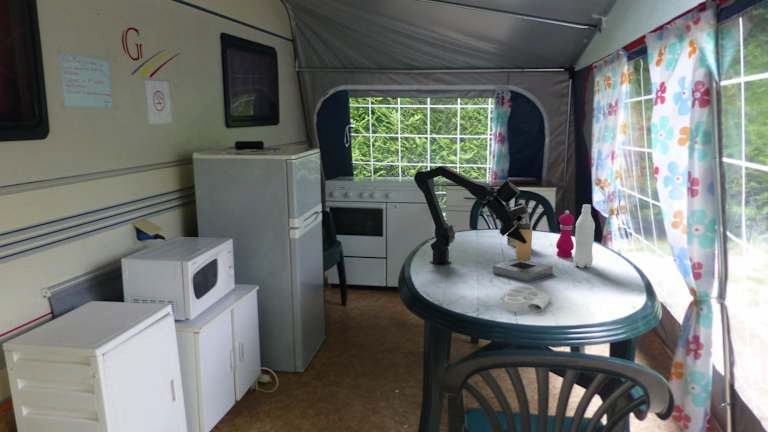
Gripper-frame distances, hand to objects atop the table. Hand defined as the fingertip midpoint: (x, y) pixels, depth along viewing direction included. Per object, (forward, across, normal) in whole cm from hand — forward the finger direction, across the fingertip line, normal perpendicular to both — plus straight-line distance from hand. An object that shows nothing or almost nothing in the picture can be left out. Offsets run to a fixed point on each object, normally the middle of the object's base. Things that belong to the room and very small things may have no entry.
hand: (527, 241), depth 200 cm
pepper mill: (+16, +33, +2) cm, 37 cm away
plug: (+4, 0, +6) cm, 7 cm away
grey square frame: (+8, 0, +10) cm, 13 cm away
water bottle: (+22, +20, -4) cm, 30 cm away
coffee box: (+1, +43, +18) cm, 46 cm away
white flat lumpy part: (+14, -32, +5) cm, 36 cm away
